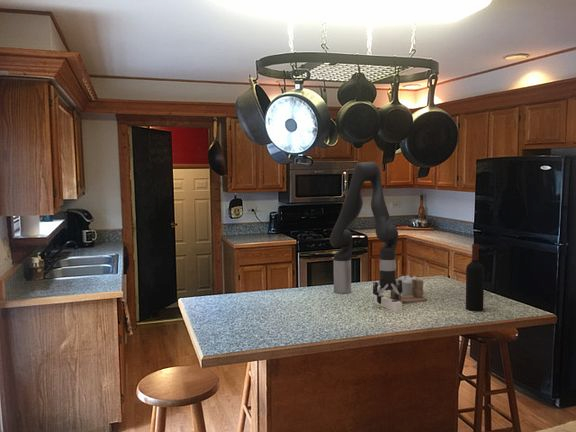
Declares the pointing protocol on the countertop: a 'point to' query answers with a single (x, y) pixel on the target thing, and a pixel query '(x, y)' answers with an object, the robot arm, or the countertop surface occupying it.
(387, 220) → the robot arm
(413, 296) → the stand
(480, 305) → the wine bottle
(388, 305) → the frame bar
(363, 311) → the countertop surface
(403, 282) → the paw print tray
